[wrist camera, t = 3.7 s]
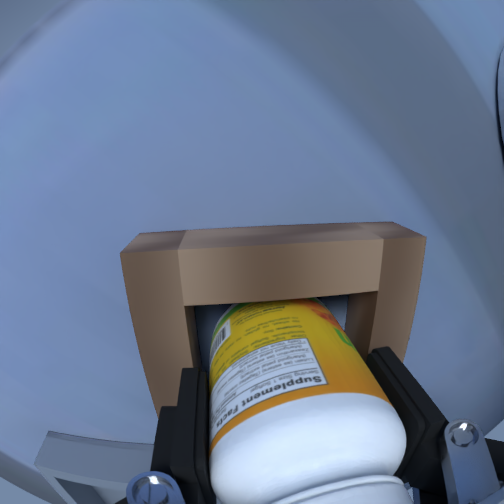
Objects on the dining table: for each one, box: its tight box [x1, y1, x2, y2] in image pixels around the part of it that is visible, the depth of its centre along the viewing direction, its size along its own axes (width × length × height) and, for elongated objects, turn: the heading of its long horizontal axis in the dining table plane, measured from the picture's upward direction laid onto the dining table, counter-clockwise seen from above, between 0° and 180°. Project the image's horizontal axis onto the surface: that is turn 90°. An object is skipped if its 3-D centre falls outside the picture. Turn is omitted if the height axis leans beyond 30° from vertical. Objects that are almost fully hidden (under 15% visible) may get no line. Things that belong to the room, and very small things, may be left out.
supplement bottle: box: [208, 297, 414, 504], centre depth 8 cm, size 5×5×10 cm
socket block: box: [120, 222, 426, 419], centre depth 12 cm, size 10×10×2 cm
